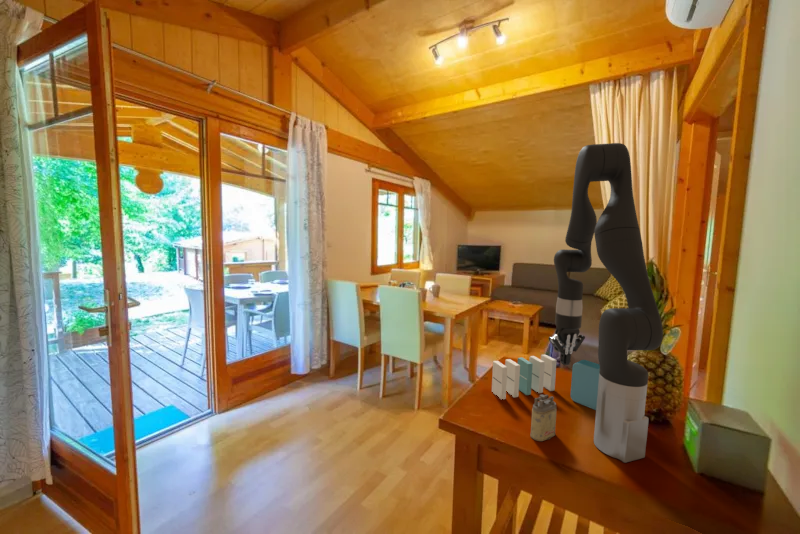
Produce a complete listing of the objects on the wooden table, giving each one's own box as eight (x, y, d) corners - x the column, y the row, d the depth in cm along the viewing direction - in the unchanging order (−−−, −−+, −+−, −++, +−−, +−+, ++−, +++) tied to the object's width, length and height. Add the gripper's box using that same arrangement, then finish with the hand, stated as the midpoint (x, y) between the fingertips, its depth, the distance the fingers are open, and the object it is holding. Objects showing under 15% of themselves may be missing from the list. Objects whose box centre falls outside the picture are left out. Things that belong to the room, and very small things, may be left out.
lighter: (546, 427, 87) (548, 390, 86) (559, 435, 84) (562, 397, 83) (527, 435, 84) (529, 397, 82) (540, 444, 80) (542, 404, 79)
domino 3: (526, 395, 103) (528, 364, 102) (516, 387, 108) (517, 357, 107) (530, 394, 104) (532, 363, 103) (520, 387, 109) (522, 357, 107)
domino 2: (508, 389, 107) (509, 358, 106) (518, 396, 103) (520, 365, 101) (503, 389, 107) (505, 359, 106) (513, 397, 102) (515, 365, 101)
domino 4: (532, 385, 110) (533, 355, 109) (542, 392, 105) (544, 361, 104) (527, 386, 110) (529, 356, 108) (538, 393, 105) (540, 362, 104)
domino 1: (496, 391, 106) (497, 360, 105) (505, 398, 101) (507, 366, 100) (491, 391, 105) (492, 361, 104) (501, 399, 101) (502, 367, 99)
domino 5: (543, 383, 111) (545, 354, 110) (554, 390, 107) (556, 360, 105) (539, 384, 111) (541, 354, 110) (550, 391, 106) (552, 360, 105)
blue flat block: (620, 412, 94) (624, 371, 93) (614, 418, 92) (618, 375, 90) (576, 395, 104) (579, 358, 102) (569, 400, 101) (572, 361, 99)
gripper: (560, 316, 102) (557, 371, 104) (594, 313, 106) (590, 366, 108) (543, 310, 109) (540, 362, 111) (575, 308, 113) (572, 357, 115)
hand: (565, 364), depth 110 cm, fingers closed
